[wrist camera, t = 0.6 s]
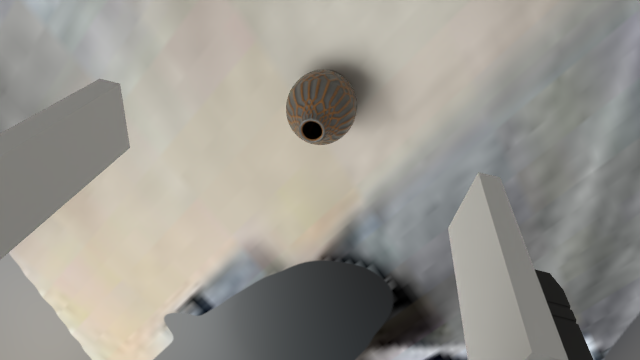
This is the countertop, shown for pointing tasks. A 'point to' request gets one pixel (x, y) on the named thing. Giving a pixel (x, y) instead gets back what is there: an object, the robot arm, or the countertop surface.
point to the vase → (321, 107)
